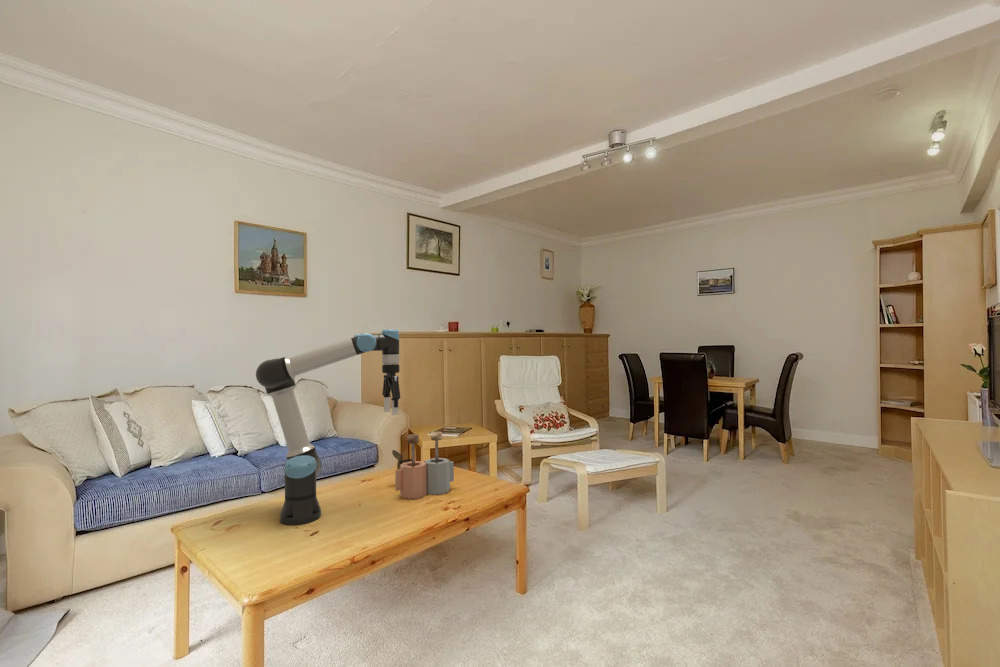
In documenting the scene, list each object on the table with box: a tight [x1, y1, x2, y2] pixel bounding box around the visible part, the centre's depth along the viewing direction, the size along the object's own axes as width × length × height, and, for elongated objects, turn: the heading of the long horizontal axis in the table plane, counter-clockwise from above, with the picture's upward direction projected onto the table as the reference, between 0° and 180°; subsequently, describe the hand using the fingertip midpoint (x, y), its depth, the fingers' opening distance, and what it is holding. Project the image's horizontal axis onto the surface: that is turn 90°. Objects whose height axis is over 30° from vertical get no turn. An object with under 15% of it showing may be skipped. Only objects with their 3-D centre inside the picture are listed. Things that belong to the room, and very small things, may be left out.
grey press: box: [423, 457, 455, 496], centre depth 223 cm, size 14×11×14 cm
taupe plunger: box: [406, 433, 420, 466], centre depth 217 cm, size 5×5×16 cm
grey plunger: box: [430, 431, 443, 463], centre depth 222 cm, size 5×5×16 cm
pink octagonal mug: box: [394, 460, 428, 500], centre depth 216 cm, size 14×11×14 cm
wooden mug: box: [391, 449, 412, 470], centre depth 234 cm, size 9×14×18 cm, turn 142°
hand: (391, 413), depth 212 cm, fingers open, 11 cm apart
